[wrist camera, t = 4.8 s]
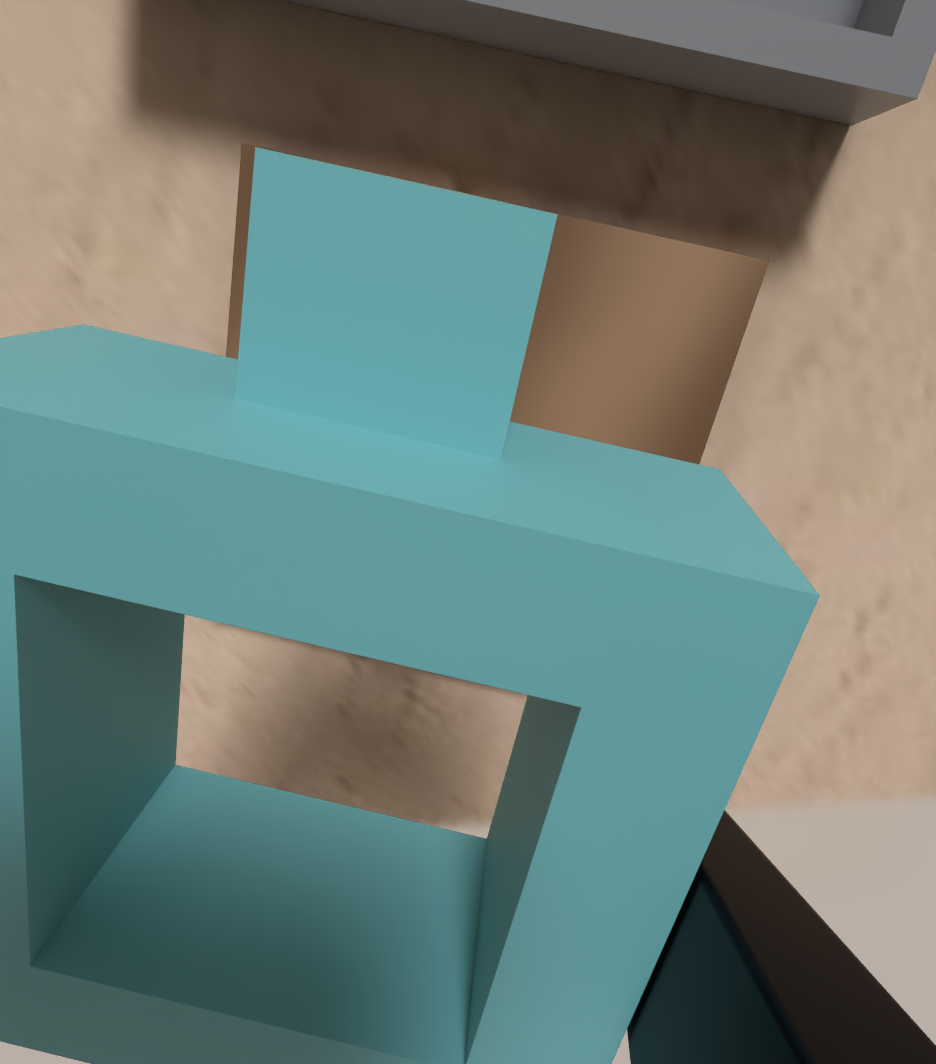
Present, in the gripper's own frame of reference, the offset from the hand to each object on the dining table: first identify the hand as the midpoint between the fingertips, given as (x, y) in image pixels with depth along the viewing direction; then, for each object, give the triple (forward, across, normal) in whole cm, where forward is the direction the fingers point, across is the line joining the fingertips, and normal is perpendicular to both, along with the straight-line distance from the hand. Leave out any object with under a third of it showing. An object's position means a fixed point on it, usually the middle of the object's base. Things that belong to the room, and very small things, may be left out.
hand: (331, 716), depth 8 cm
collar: (+1, 0, 0) cm, 1 cm away
